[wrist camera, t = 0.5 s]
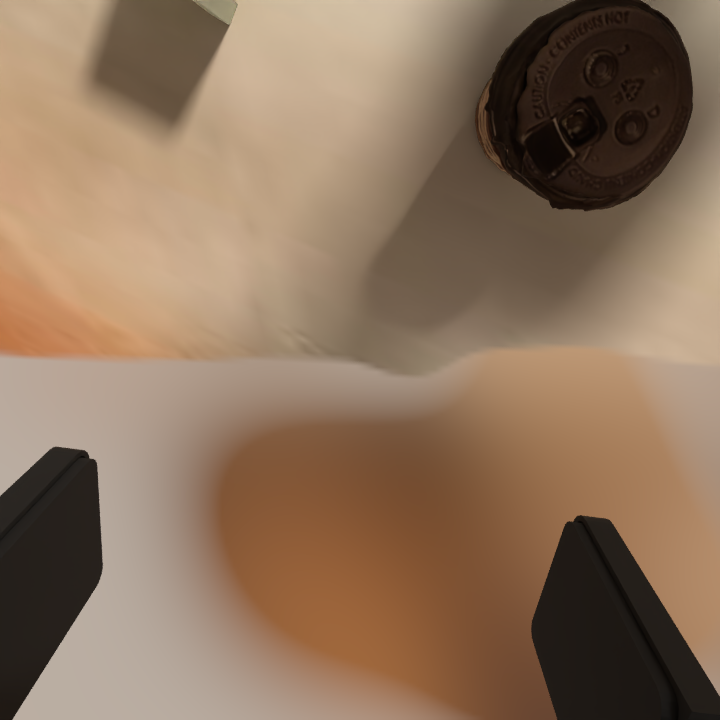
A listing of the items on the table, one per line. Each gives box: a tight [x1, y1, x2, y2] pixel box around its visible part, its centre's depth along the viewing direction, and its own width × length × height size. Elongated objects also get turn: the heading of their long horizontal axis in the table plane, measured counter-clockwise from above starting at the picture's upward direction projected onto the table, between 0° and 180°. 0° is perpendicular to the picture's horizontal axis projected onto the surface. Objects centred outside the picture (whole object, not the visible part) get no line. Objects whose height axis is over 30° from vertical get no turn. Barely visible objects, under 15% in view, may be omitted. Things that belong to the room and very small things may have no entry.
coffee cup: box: [475, 0, 693, 211], centre depth 27 cm, size 9×8×13 cm
